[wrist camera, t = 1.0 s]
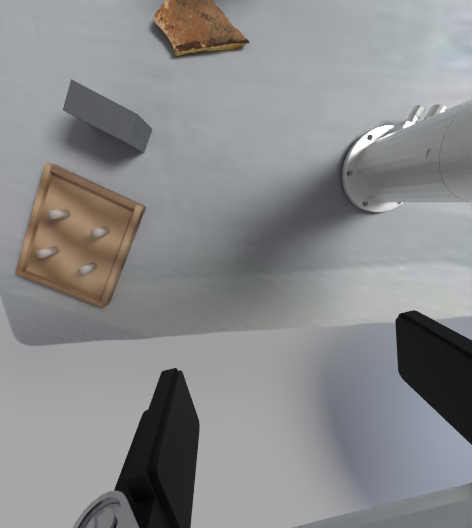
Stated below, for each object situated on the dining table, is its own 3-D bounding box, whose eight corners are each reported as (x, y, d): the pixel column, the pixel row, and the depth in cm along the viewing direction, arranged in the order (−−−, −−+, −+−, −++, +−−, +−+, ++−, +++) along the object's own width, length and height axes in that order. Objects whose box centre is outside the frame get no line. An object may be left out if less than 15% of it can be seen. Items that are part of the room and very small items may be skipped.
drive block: (98, 101, 33) (71, 79, 27) (152, 129, 34) (137, 114, 28) (90, 126, 33) (62, 109, 28) (144, 152, 35) (128, 142, 29)
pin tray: (55, 164, 34) (32, 159, 30) (146, 206, 36) (136, 207, 32) (25, 270, 38) (2, 278, 34) (109, 303, 40) (96, 314, 36)
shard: (248, 48, 32) (250, 40, 31) (213, 95, 34) (212, 90, 32) (186, -19, 30) (184, -33, 28) (151, 34, 31) (147, 24, 30)
